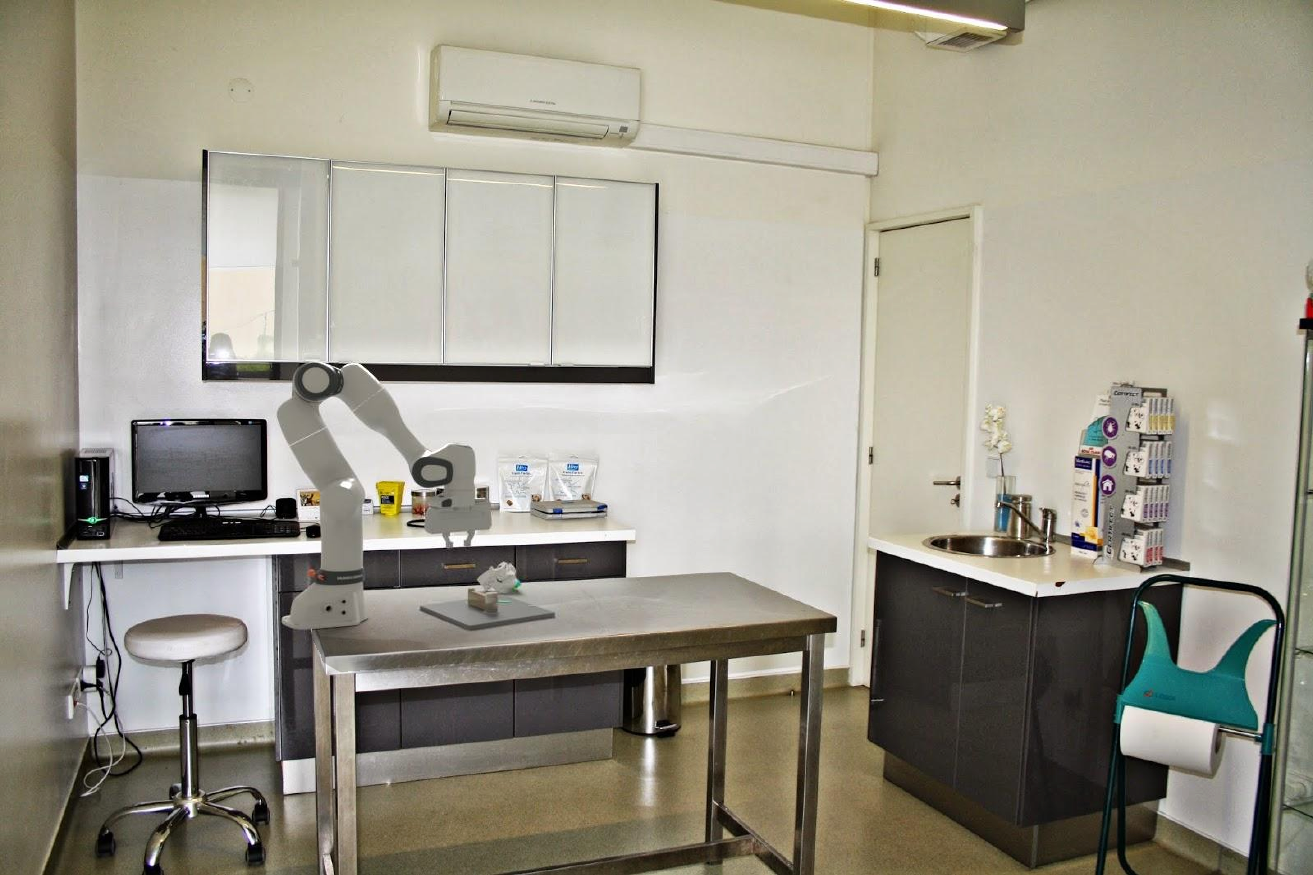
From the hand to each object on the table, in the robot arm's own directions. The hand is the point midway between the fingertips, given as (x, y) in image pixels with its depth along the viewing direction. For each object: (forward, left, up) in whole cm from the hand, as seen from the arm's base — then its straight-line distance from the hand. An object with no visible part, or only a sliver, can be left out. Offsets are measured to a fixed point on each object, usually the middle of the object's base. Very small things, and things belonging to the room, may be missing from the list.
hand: (458, 547), depth 287 cm
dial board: (+7, -5, -19) cm, 21 cm away
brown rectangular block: (+6, -4, -18) cm, 19 cm away
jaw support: (+28, +19, -20) cm, 39 cm away
